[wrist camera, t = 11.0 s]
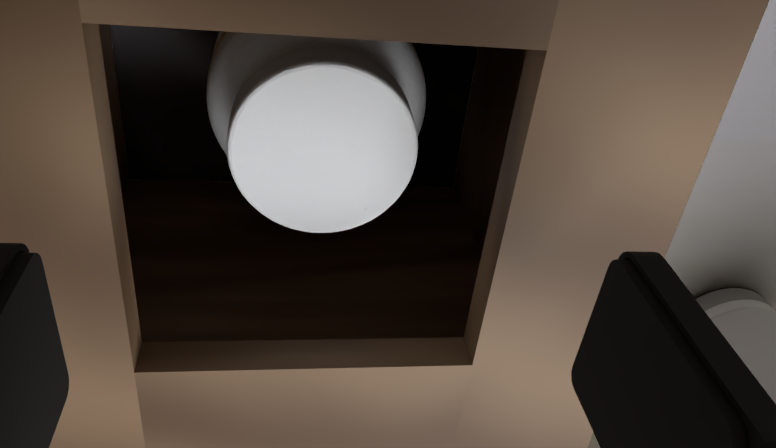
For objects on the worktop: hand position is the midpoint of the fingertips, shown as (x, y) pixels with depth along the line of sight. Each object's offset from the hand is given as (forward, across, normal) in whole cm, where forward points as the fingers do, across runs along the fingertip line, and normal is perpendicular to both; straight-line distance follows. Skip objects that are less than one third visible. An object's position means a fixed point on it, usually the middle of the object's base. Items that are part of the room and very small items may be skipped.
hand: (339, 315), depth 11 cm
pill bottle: (+17, 0, 0) cm, 17 cm away
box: (+17, 0, 0) cm, 17 cm away
